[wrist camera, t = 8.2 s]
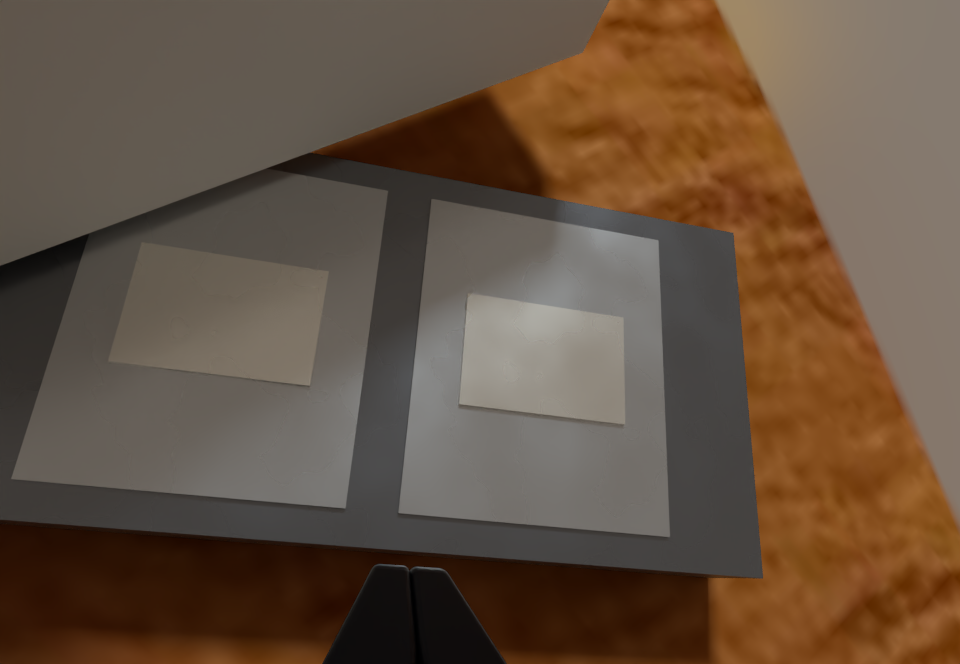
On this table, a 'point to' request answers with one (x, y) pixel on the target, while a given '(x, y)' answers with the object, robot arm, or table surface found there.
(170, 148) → the upright grey slab
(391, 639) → the robot arm
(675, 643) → the table surface
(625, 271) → the server tray
